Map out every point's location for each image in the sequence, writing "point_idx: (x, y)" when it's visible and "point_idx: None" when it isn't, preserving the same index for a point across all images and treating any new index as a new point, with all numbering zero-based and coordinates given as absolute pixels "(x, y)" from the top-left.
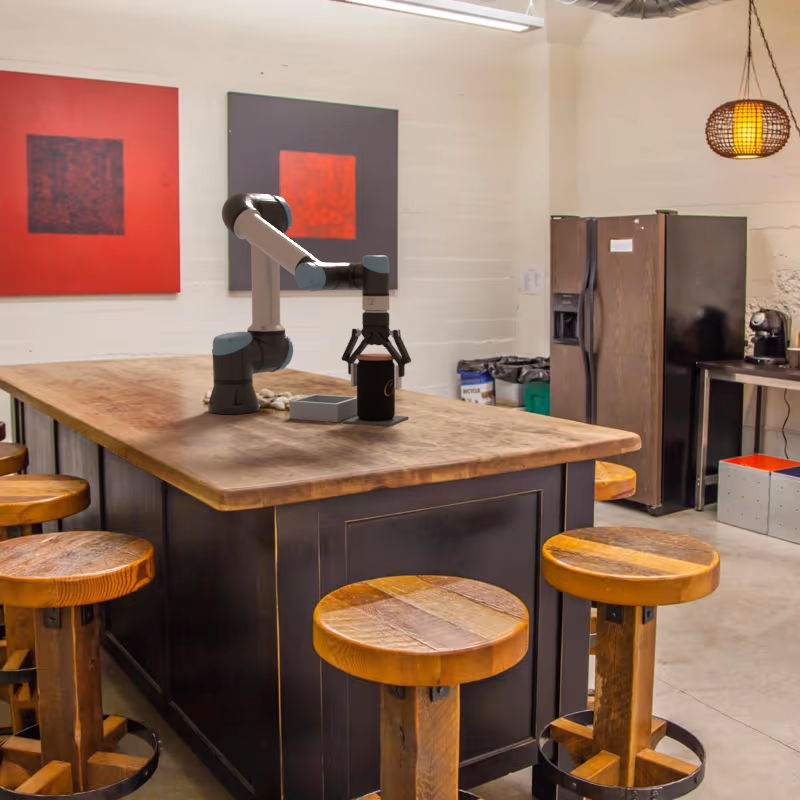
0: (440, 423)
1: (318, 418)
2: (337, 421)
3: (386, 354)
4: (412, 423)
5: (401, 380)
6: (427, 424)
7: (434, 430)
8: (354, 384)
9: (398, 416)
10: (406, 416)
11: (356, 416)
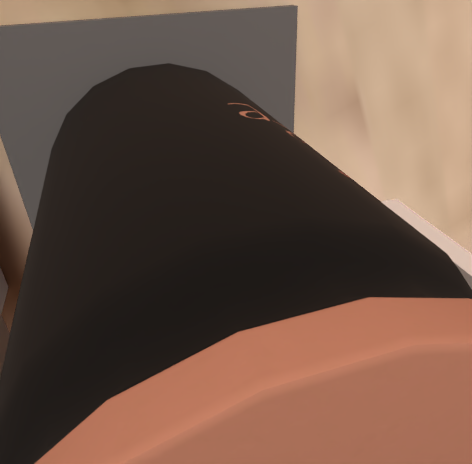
0: (469, 67)
1: None
2: (6, 288)
3: (466, 432)
4: (352, 134)
5: (435, 228)
6: (418, 122)
7: (458, 222)
8: (3, 337)
9: (241, 31)
10: (285, 6)
11: (14, 162)
